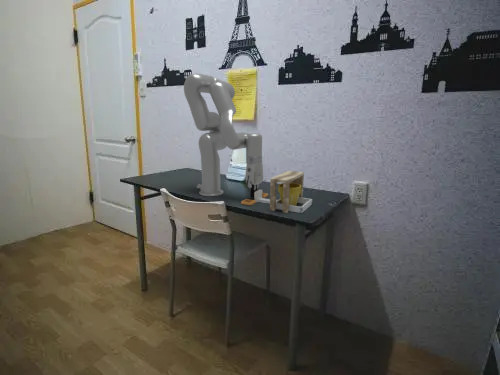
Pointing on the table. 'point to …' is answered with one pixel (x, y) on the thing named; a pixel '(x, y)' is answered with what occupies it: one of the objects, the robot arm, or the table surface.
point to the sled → (292, 208)
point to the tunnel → (285, 187)
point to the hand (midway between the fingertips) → (254, 197)
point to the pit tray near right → (248, 202)
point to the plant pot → (291, 193)
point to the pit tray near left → (264, 195)
